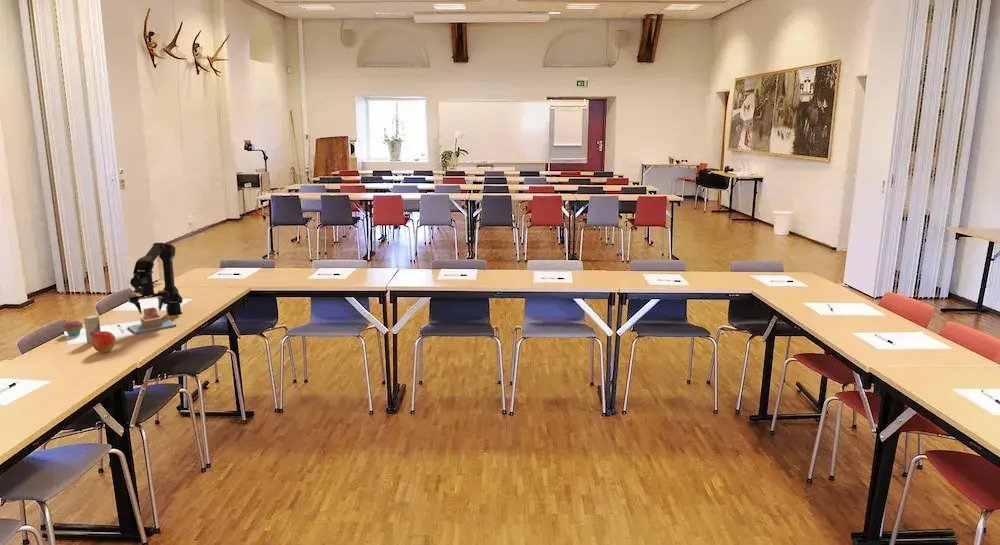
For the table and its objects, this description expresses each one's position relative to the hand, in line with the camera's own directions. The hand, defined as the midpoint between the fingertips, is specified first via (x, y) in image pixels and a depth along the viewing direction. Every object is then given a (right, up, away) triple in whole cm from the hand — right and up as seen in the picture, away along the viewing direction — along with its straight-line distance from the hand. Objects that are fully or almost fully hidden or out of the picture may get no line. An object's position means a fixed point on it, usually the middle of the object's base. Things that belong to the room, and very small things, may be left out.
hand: (150, 312), depth 347 cm
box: (-16, -14, -21) cm, 30 cm away
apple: (-3, -17, -35) cm, 39 cm away
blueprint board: (0, -8, +2) cm, 8 cm away
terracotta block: (0, -3, +1) cm, 3 cm away
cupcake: (-34, -11, -10) cm, 37 cm away
